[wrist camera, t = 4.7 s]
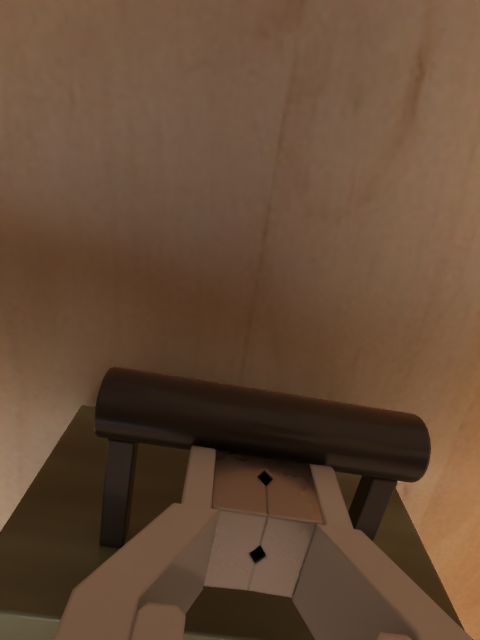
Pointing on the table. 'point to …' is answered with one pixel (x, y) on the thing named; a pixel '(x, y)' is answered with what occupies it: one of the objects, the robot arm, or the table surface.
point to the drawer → (168, 483)
